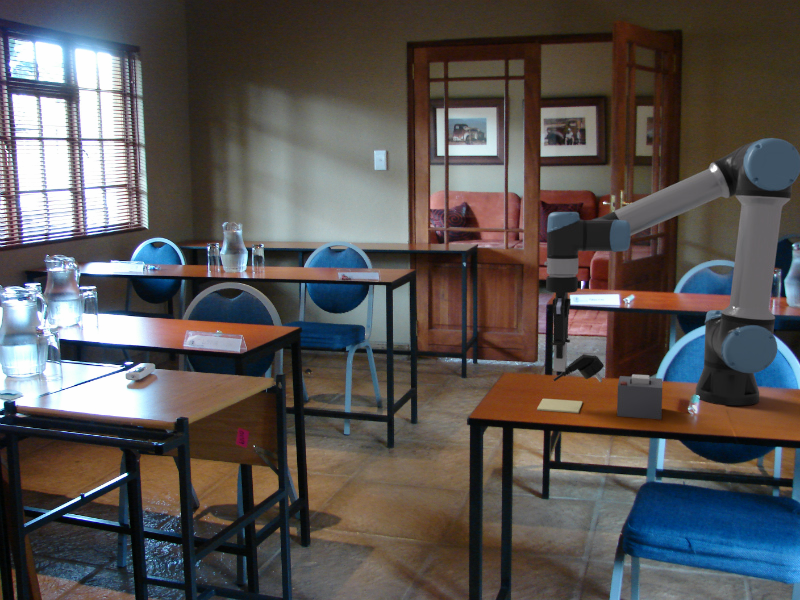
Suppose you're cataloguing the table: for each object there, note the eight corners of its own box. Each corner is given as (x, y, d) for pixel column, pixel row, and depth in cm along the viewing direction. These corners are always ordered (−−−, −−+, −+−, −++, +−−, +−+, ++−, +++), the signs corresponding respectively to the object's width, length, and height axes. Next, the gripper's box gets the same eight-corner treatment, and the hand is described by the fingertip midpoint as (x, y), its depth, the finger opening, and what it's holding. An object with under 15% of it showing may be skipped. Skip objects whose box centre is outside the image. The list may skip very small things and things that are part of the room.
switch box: (661, 408, 191) (662, 376, 190) (661, 419, 182) (662, 385, 181) (619, 405, 195) (620, 373, 194) (617, 416, 185) (617, 382, 184)
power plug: (552, 374, 196) (591, 346, 193) (570, 397, 197) (610, 370, 193) (551, 380, 191) (592, 352, 188) (571, 404, 191) (611, 377, 188)
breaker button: (648, 391, 189) (649, 375, 188) (648, 395, 185) (649, 379, 185) (631, 390, 190) (632, 374, 190) (631, 394, 186) (631, 378, 186)
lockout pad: (582, 402, 197) (582, 401, 197) (578, 413, 188) (578, 411, 188) (542, 400, 201) (542, 398, 201) (536, 410, 191) (536, 408, 191)
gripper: (550, 272, 198) (549, 362, 201) (542, 278, 184) (540, 375, 187) (580, 272, 196) (578, 364, 199) (574, 278, 182) (572, 377, 185)
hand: (560, 369), depth 193 cm, fingers closed on power plug, 2 cm apart
